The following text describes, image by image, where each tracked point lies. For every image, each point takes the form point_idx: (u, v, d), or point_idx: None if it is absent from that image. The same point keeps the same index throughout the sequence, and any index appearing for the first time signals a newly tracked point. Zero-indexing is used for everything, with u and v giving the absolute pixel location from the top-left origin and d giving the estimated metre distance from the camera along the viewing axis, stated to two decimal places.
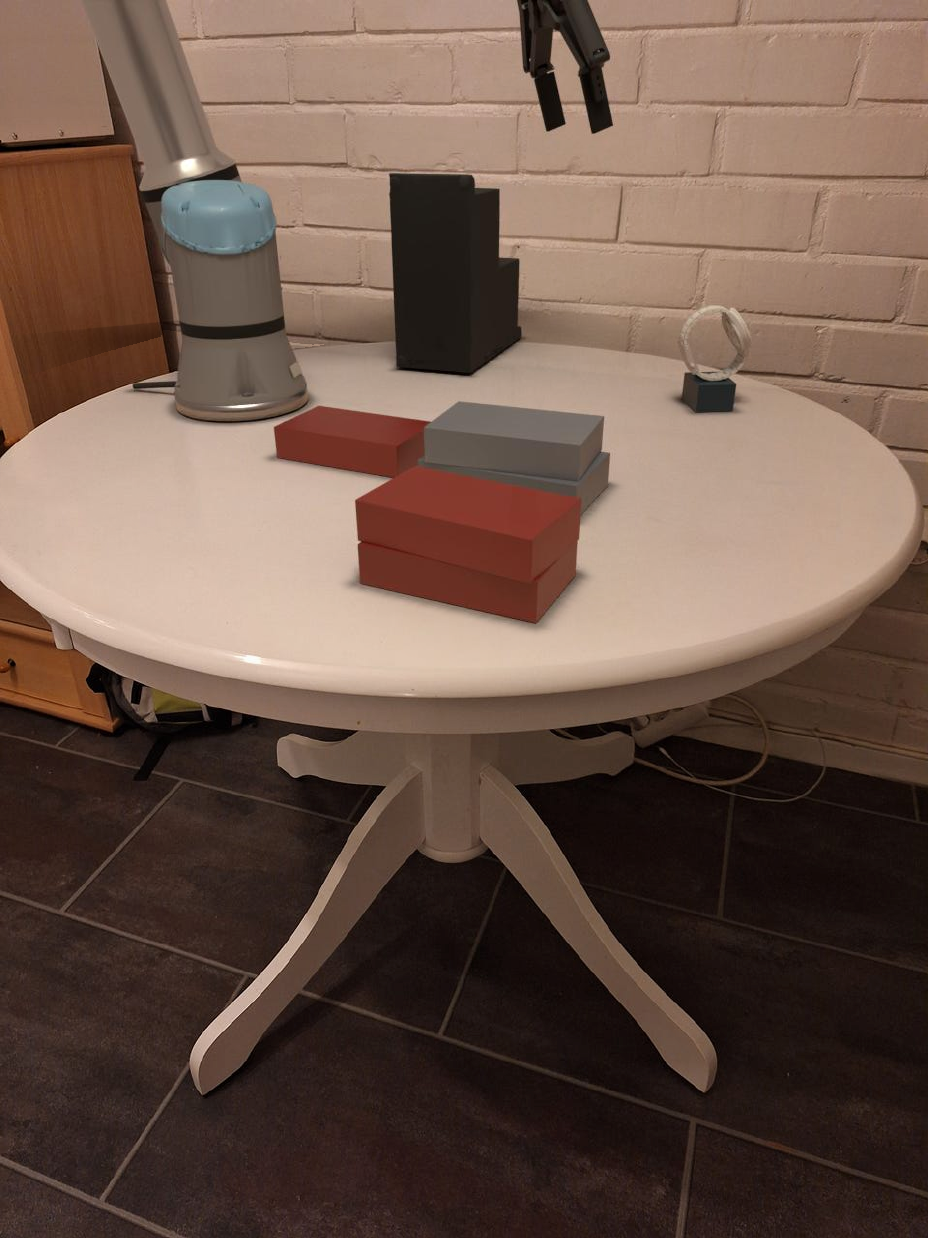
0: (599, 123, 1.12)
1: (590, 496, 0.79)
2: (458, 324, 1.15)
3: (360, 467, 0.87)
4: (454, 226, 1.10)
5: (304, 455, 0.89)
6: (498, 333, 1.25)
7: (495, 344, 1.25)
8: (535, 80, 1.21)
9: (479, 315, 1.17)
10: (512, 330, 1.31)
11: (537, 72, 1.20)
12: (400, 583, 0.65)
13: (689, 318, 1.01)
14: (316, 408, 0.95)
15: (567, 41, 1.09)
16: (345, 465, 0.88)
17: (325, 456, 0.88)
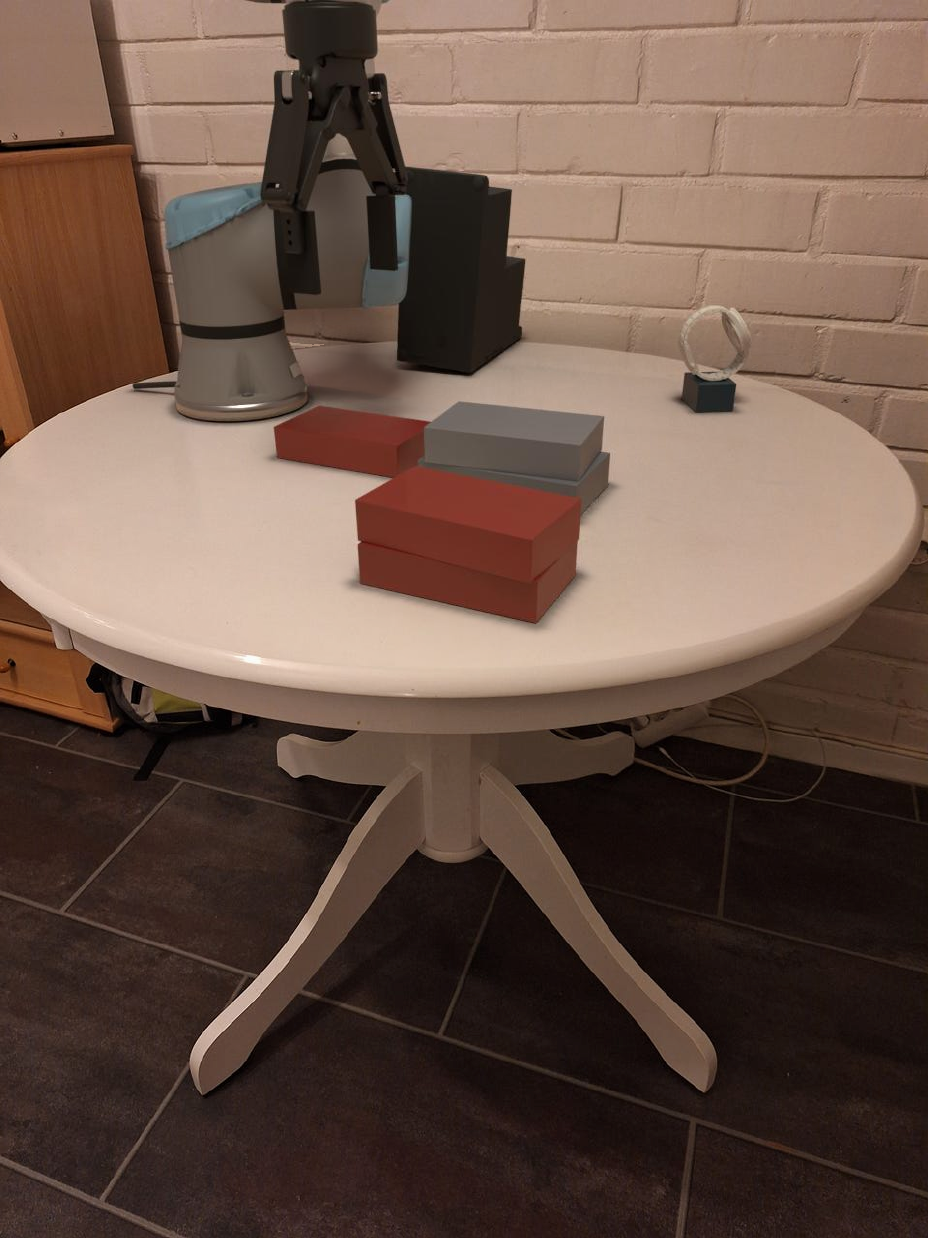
0: (298, 283, 0.77)
1: (590, 496, 0.79)
2: (462, 323, 1.15)
3: (360, 467, 0.87)
4: (465, 226, 1.09)
5: (304, 455, 0.89)
6: (499, 333, 1.25)
7: (496, 344, 1.25)
8: None
9: (483, 316, 1.17)
10: (513, 330, 1.31)
11: (375, 189, 0.86)
12: (400, 583, 0.65)
13: (689, 318, 1.01)
14: (316, 408, 0.95)
15: None
16: (345, 465, 0.88)
17: (325, 456, 0.88)
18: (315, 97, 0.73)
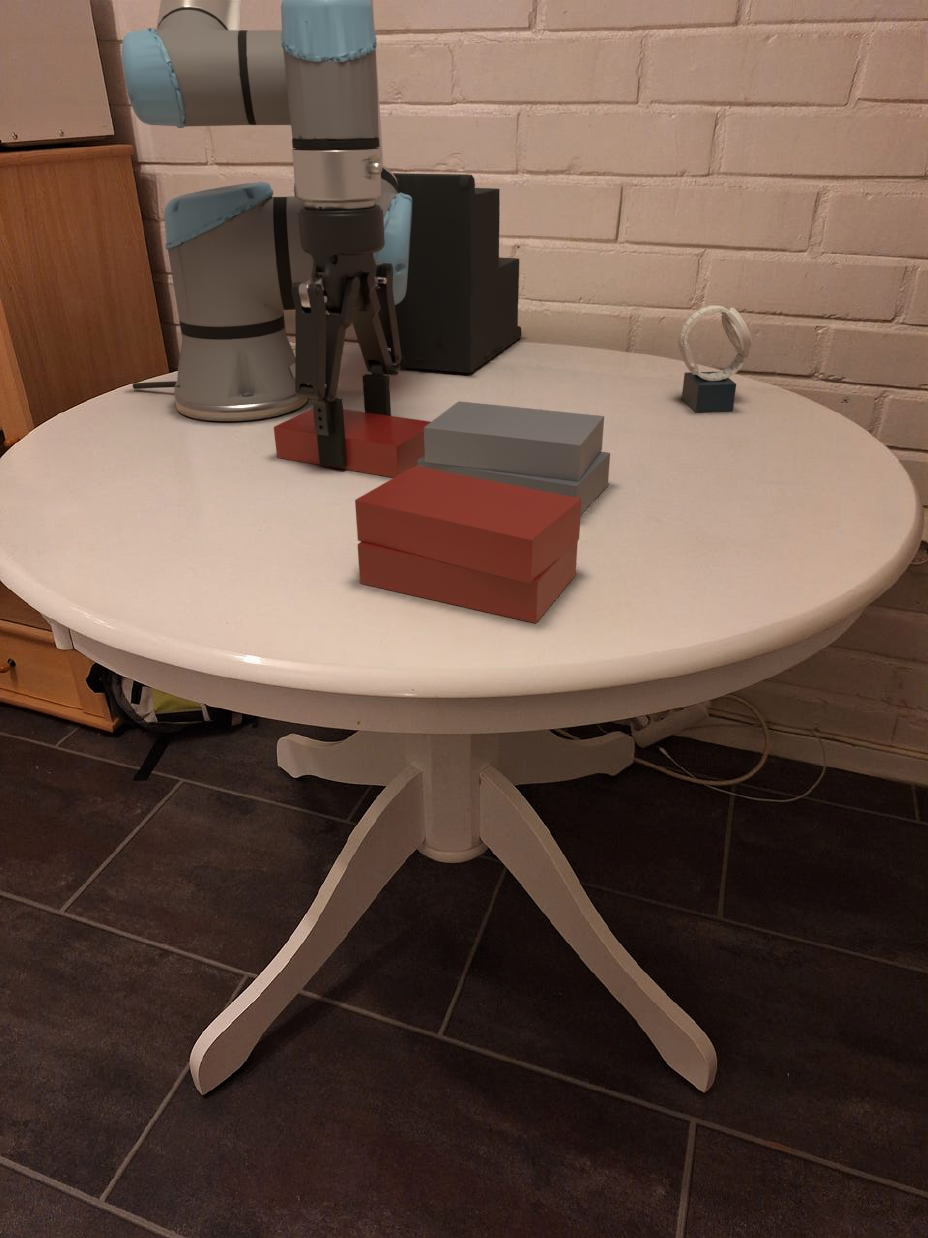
0: (326, 457, 0.87)
1: (590, 496, 0.79)
2: (458, 324, 1.15)
3: (360, 467, 0.87)
4: (454, 226, 1.10)
5: (304, 455, 0.89)
6: (497, 333, 1.25)
7: (495, 344, 1.25)
8: None
9: (479, 315, 1.17)
10: (512, 330, 1.31)
11: (370, 367, 0.92)
12: (400, 583, 0.65)
13: (689, 318, 1.01)
14: None
15: None
16: None
17: None
18: (327, 290, 0.80)
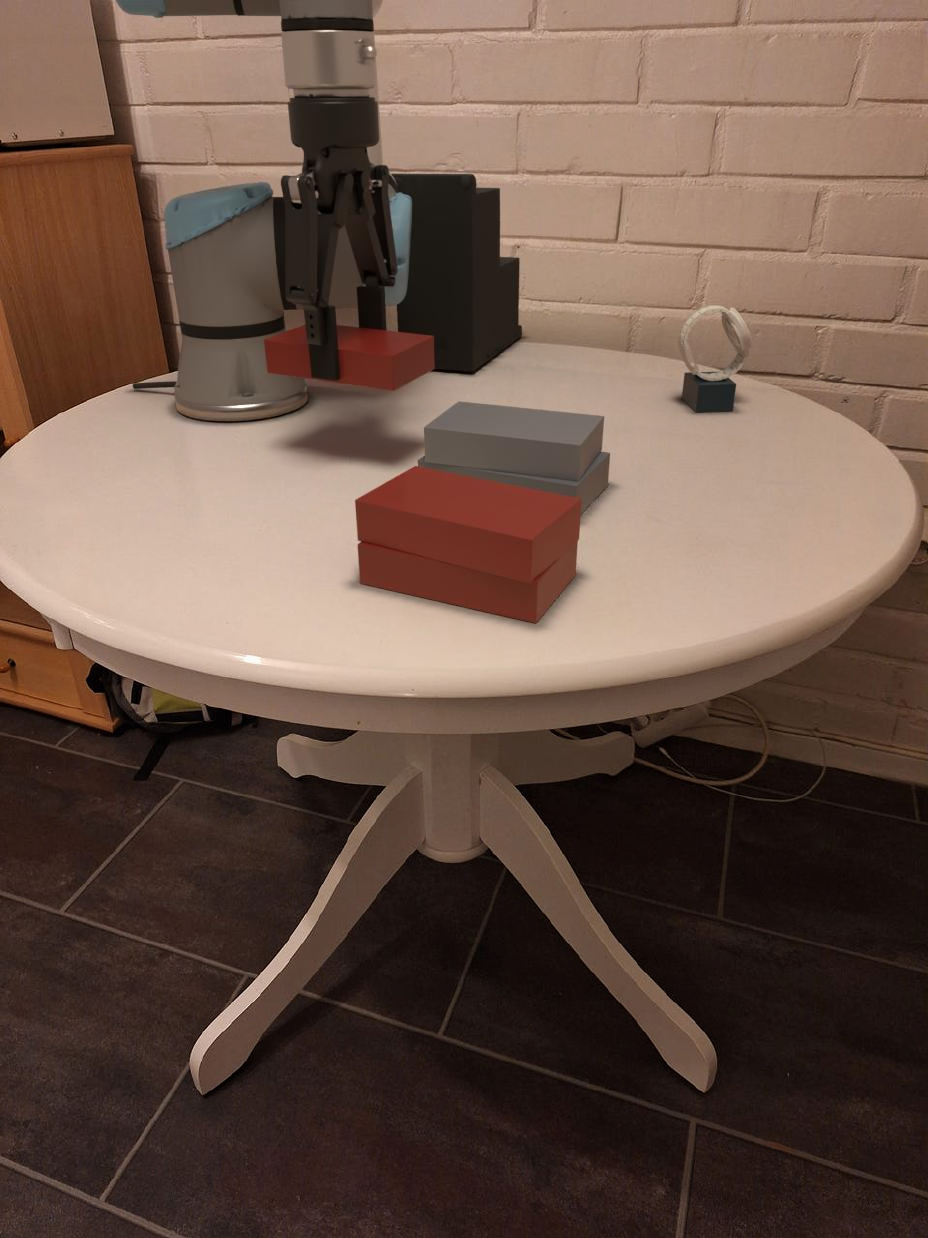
0: (319, 369, 0.83)
1: (590, 496, 0.79)
2: (461, 323, 1.15)
3: (354, 380, 0.83)
4: (456, 226, 1.10)
5: (296, 369, 0.86)
6: (499, 332, 1.26)
7: (497, 343, 1.26)
8: None
9: (481, 314, 1.18)
10: (513, 329, 1.32)
11: (365, 278, 0.88)
12: (400, 583, 0.65)
13: (689, 318, 1.01)
14: None
15: None
16: None
17: None
18: (319, 186, 0.76)
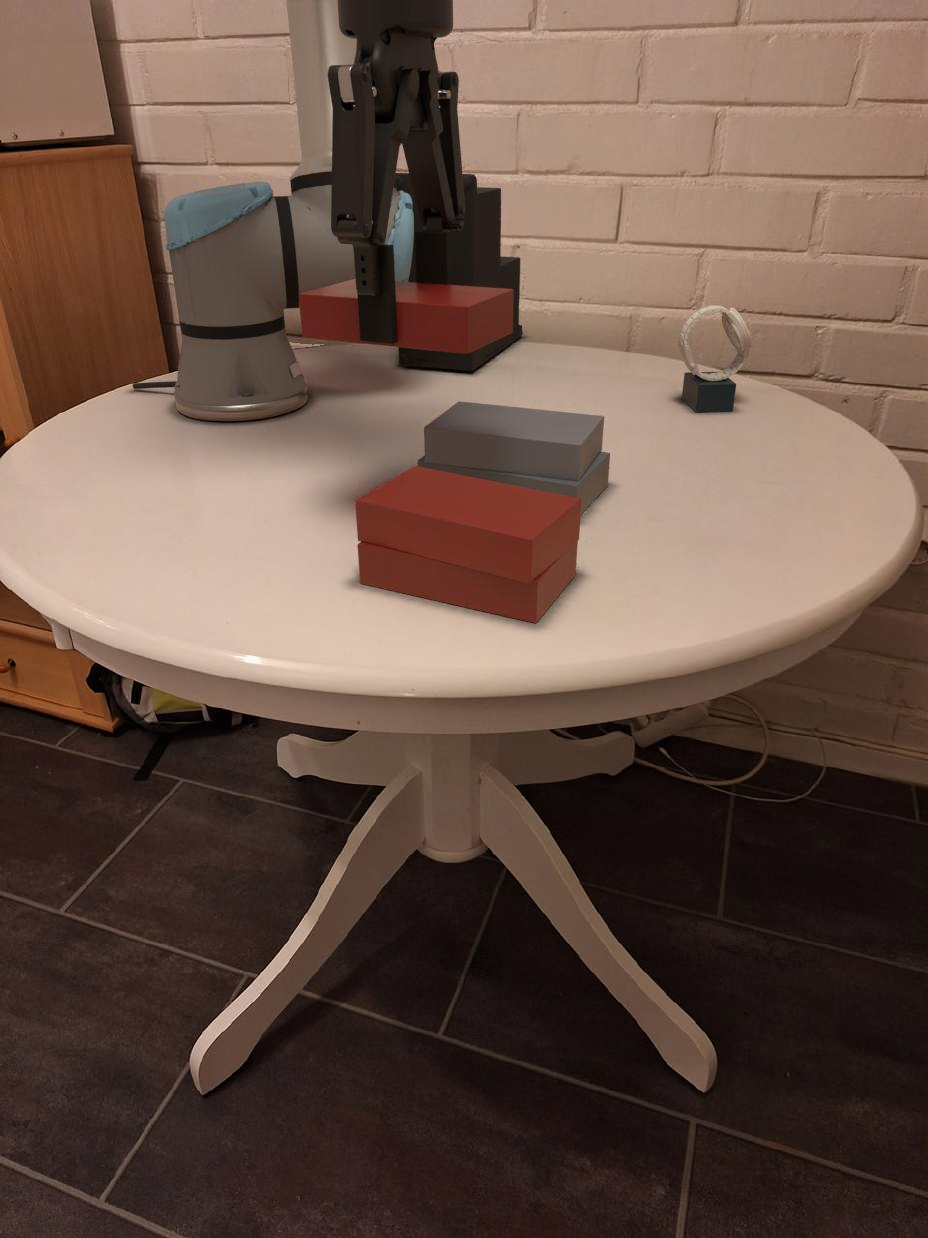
0: (370, 329, 0.65)
1: (590, 496, 0.79)
2: None
3: (415, 342, 0.65)
4: None
5: (339, 331, 0.67)
6: None
7: (496, 342, 1.26)
8: None
9: None
10: (513, 329, 1.32)
11: (426, 220, 0.69)
12: (400, 583, 0.65)
13: (689, 318, 1.01)
14: (353, 280, 0.73)
15: None
16: None
17: None
18: (376, 82, 0.58)
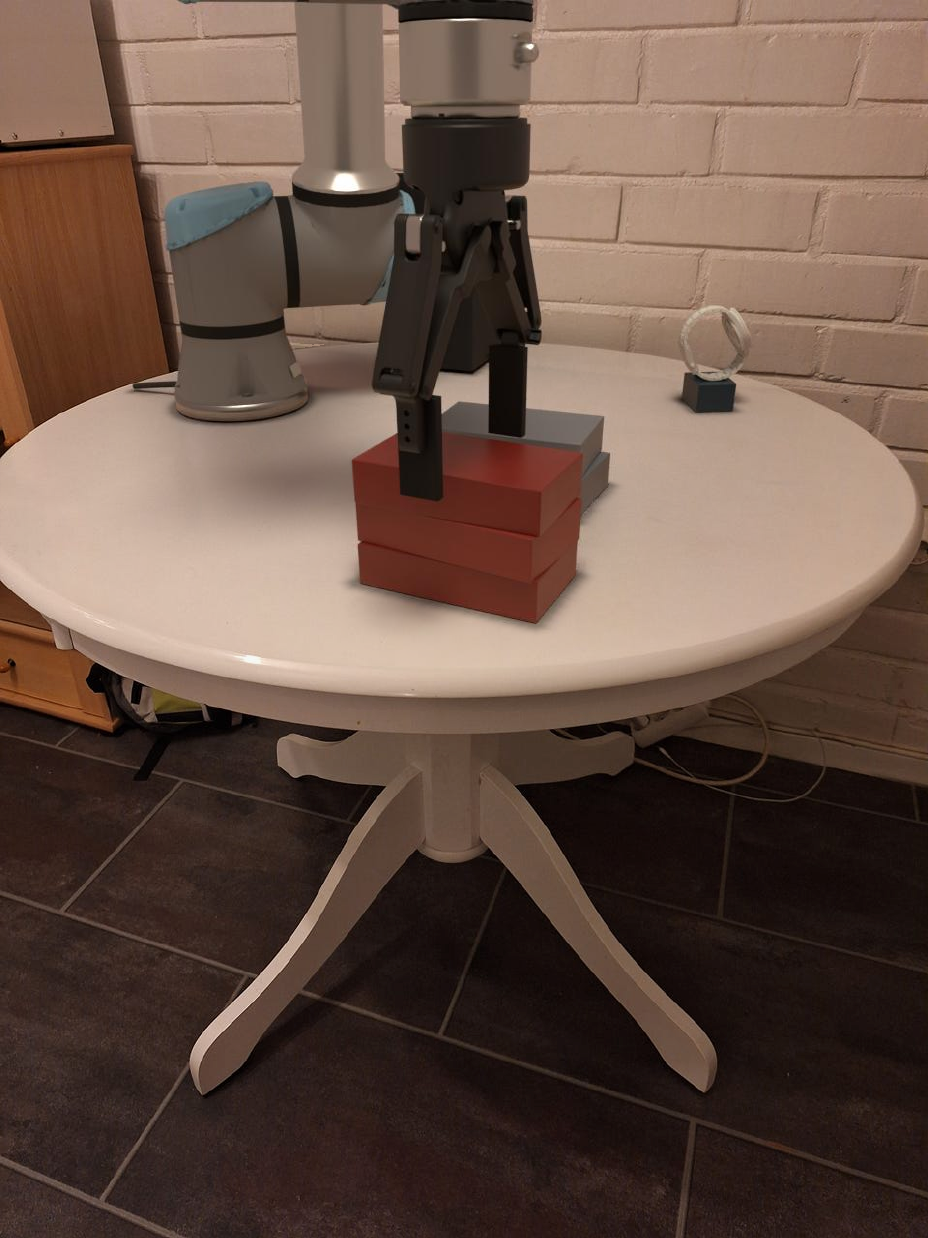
0: (412, 484, 0.57)
1: (590, 496, 0.79)
2: (461, 322, 1.16)
3: (480, 520, 0.60)
4: None
5: (396, 500, 0.62)
6: None
7: (496, 342, 1.26)
8: None
9: (481, 314, 1.18)
10: None
11: (501, 336, 0.65)
12: (400, 583, 0.65)
13: (689, 318, 1.01)
14: None
15: None
16: (458, 516, 0.61)
17: (428, 503, 0.61)
18: (447, 245, 0.53)
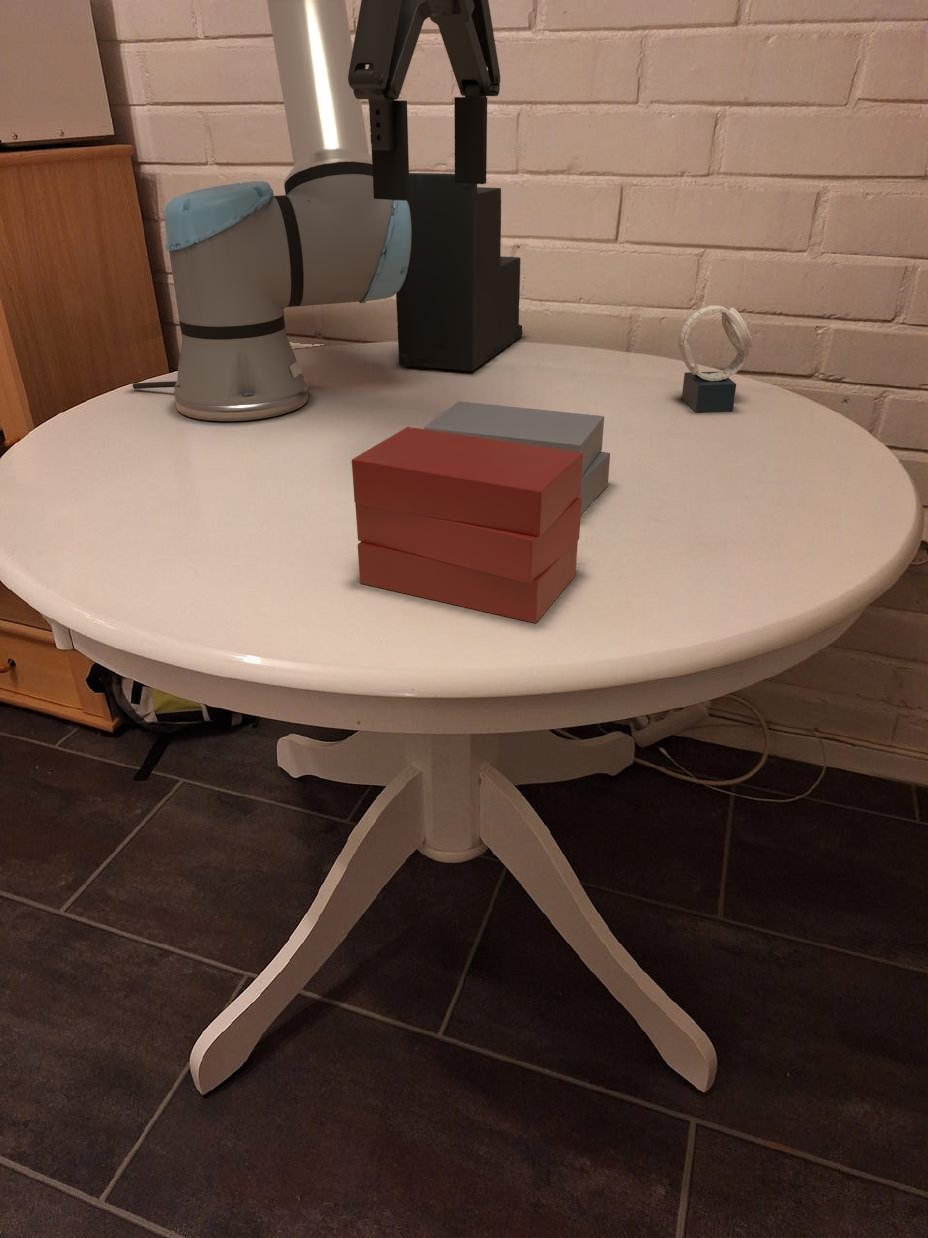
0: (383, 187, 0.68)
1: (590, 496, 0.79)
2: (461, 322, 1.16)
3: (480, 520, 0.60)
4: (456, 225, 1.10)
5: (396, 500, 0.62)
6: (499, 331, 1.26)
7: (496, 342, 1.26)
8: None
9: (481, 314, 1.18)
10: (513, 329, 1.32)
11: (464, 89, 0.76)
12: (400, 583, 0.65)
13: (689, 318, 1.01)
14: (405, 431, 0.68)
15: None
16: (458, 516, 0.61)
17: (428, 503, 0.61)
18: None
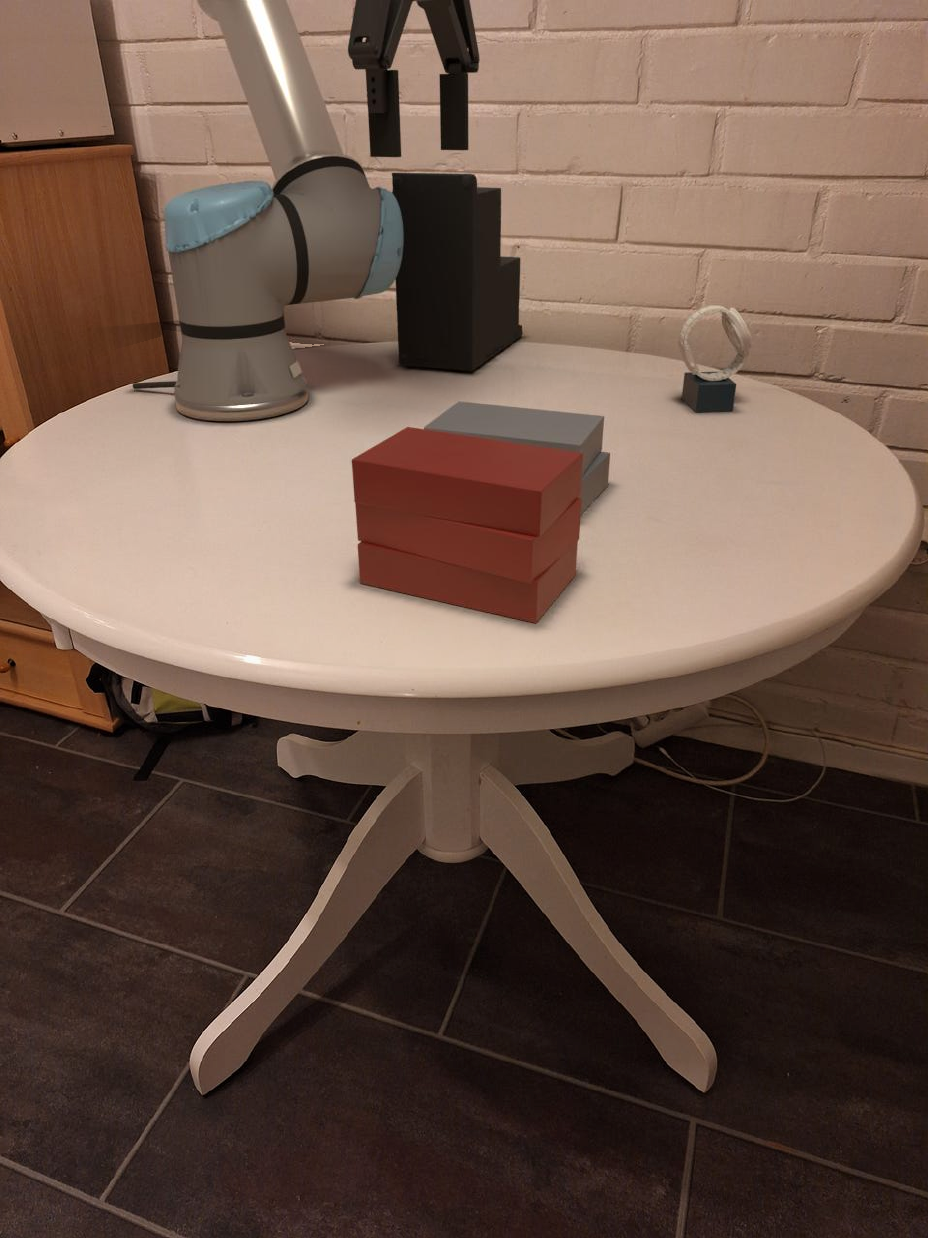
0: (379, 146, 0.79)
1: (590, 496, 0.79)
2: (461, 322, 1.16)
3: (480, 520, 0.60)
4: (456, 225, 1.10)
5: (396, 500, 0.62)
6: (499, 331, 1.26)
7: (496, 342, 1.26)
8: None
9: (481, 314, 1.18)
10: (513, 329, 1.32)
11: (448, 66, 0.87)
12: (400, 583, 0.65)
13: (689, 318, 1.01)
14: (405, 431, 0.68)
15: None
16: (458, 516, 0.61)
17: (428, 503, 0.61)
18: None
